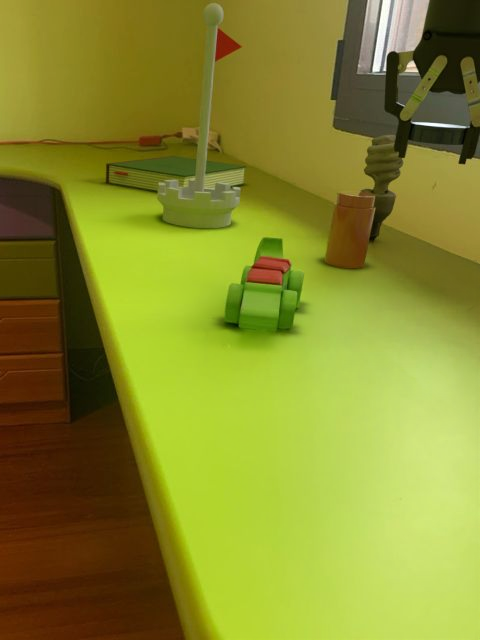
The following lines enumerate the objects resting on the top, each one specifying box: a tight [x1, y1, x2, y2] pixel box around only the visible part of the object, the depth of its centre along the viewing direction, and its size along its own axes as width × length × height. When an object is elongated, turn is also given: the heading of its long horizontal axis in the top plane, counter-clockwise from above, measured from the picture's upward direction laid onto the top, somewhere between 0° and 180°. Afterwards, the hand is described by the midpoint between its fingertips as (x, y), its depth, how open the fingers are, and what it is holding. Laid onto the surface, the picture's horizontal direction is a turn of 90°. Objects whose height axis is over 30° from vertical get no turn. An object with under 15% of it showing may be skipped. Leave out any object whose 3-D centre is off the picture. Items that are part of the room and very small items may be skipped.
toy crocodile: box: [224, 236, 305, 333], centre depth 69 cm, size 20×7×6 cm, turn 165°
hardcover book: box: [105, 155, 247, 193], centre depth 143 cm, size 25×19×4 cm
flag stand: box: [156, 2, 243, 229], centre depth 104 cm, size 13×13×30 cm
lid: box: [408, 121, 467, 146], centre depth 75 cm, size 6×6×2 cm
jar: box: [323, 190, 375, 269], centre depth 90 cm, size 5×5×9 cm
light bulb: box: [360, 134, 404, 242], centre depth 101 cm, size 6×6×15 cm
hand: (431, 159), depth 77 cm, fingers closed on lid, 5 cm apart
